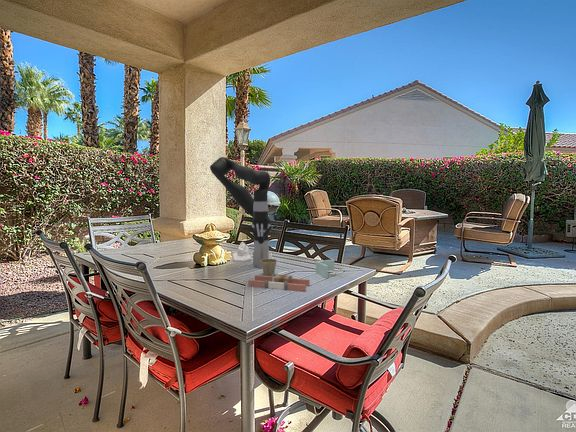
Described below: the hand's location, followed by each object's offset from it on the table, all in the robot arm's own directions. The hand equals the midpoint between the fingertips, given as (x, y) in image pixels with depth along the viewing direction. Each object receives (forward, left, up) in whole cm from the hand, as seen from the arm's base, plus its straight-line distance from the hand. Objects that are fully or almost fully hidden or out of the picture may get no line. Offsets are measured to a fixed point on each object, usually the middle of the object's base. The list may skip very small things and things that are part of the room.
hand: (261, 243), depth 159 cm
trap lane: (+10, 0, -22) cm, 24 cm away
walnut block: (+11, 0, -22) cm, 24 cm away
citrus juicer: (-30, +45, -22) cm, 58 cm away
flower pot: (-1, +16, -22) cm, 27 cm away
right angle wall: (+32, +27, -22) cm, 47 cm away
